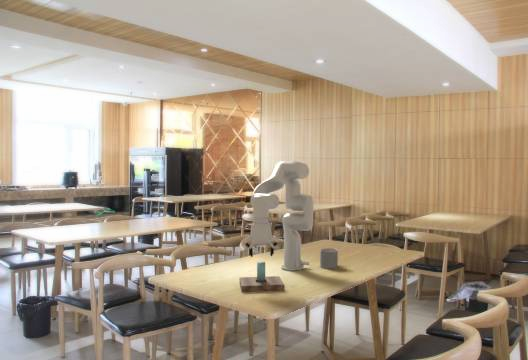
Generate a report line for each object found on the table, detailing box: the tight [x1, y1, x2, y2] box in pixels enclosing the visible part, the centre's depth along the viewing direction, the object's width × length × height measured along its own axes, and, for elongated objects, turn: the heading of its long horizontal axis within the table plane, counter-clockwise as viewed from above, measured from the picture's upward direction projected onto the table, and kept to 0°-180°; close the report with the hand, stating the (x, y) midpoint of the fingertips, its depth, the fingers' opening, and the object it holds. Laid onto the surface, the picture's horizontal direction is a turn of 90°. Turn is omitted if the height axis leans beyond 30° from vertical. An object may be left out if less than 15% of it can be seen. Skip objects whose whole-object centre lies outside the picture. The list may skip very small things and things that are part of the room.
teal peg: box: [256, 261, 266, 282], centre depth 216 cm, size 4×4×12 cm
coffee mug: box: [319, 247, 339, 270], centre depth 260 cm, size 13×10×10 cm
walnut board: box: [239, 275, 285, 293], centre depth 216 cm, size 20×16×3 cm
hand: (261, 256), depth 216 cm, fingers open, 9 cm apart
